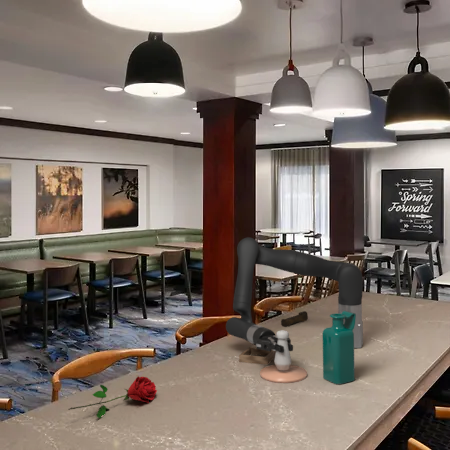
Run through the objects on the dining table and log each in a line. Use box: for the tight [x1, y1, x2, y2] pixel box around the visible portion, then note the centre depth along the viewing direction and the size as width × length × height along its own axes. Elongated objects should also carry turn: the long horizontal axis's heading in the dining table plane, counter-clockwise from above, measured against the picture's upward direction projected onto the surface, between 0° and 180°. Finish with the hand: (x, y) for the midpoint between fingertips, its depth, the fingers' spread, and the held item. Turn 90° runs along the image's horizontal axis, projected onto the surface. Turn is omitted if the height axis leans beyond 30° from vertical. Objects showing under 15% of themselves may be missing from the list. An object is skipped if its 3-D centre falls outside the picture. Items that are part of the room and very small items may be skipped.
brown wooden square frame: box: [238, 346, 276, 366], centre depth 196 cm, size 11×11×2 cm
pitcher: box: [321, 311, 356, 385], centre depth 172 cm, size 10×8×22 cm
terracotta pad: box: [259, 364, 308, 384], centre depth 178 cm, size 16×16×1 cm
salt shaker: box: [273, 329, 292, 370], centre depth 177 cm, size 6×6×13 cm
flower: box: [68, 375, 158, 419], centre depth 152 cm, size 9×9×30 cm
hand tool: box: [280, 310, 309, 328], centre depth 250 cm, size 19×4×5 cm, turn 133°
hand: (287, 349), depth 175 cm, fingers closed on salt shaker, 3 cm apart
